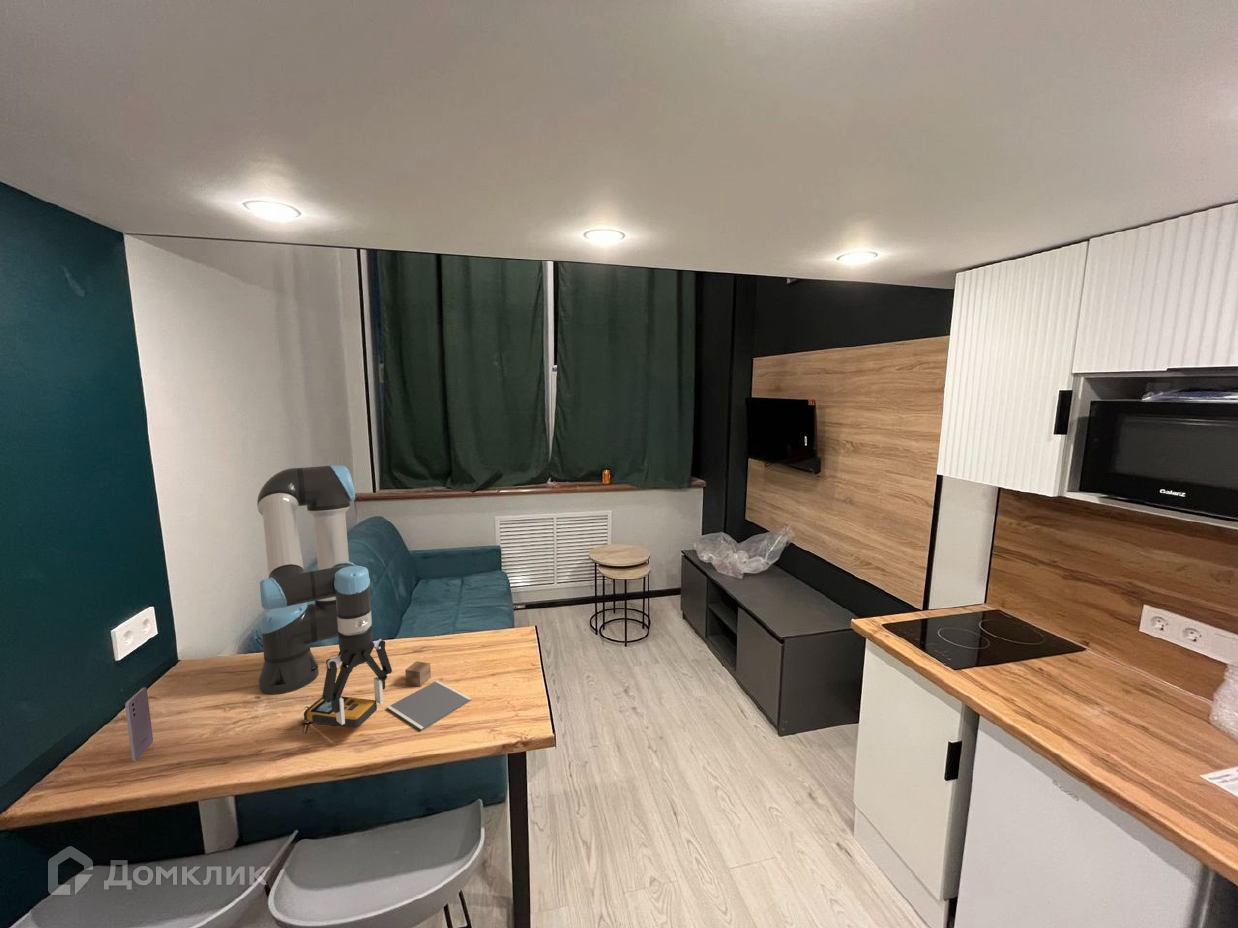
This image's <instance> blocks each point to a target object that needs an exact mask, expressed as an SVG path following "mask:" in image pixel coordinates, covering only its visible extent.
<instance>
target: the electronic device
mask: <svg viewBox="0 0 1238 928" xmlns="http://www.w3.org/2000/svg"><path fill="white" fill-rule="evenodd" d="M341 698H343V701H344V715H345V724H343V725H341V724H340V723H339V722H337V721H336V713H334V712H333V711H332V704H331V702H329V703H328V702H326V701H325V700H323V699H322V696H321V697H320V698H319V699H318V700H316V701H315V702H314V703H313V704H311V705H310V706H309V707H307V708H306V710H305V711H304V712H303V719H304V721H305V722H309V723H310V722H312V723H315V724H320V725H321V724H323V725H329V726H337V727H344V728H351V729H356V728H359V727H361V725H363V724H364V723H365V722H366V721H367V720H368V719H369V718H371V716H372V715H373V714H374V713H375V712H376V711H377V709H378V705H377V704H378V703H377V702H376V701H375V699H368V698H367V699H366V698H358V697H352V696H351V697H350V696H342V695H341Z"/></svg>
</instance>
